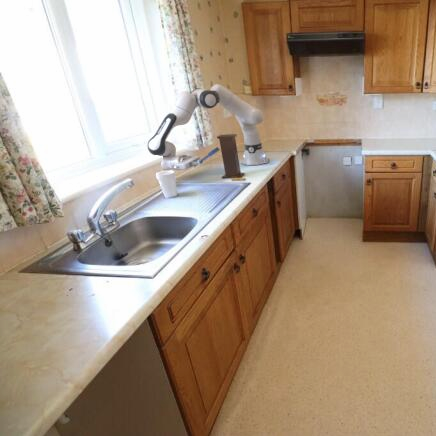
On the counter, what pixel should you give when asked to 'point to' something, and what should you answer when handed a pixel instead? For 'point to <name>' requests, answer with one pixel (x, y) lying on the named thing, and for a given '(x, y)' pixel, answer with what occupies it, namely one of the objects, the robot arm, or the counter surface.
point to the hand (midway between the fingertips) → (201, 162)
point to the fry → (237, 179)
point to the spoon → (210, 154)
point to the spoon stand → (230, 156)
